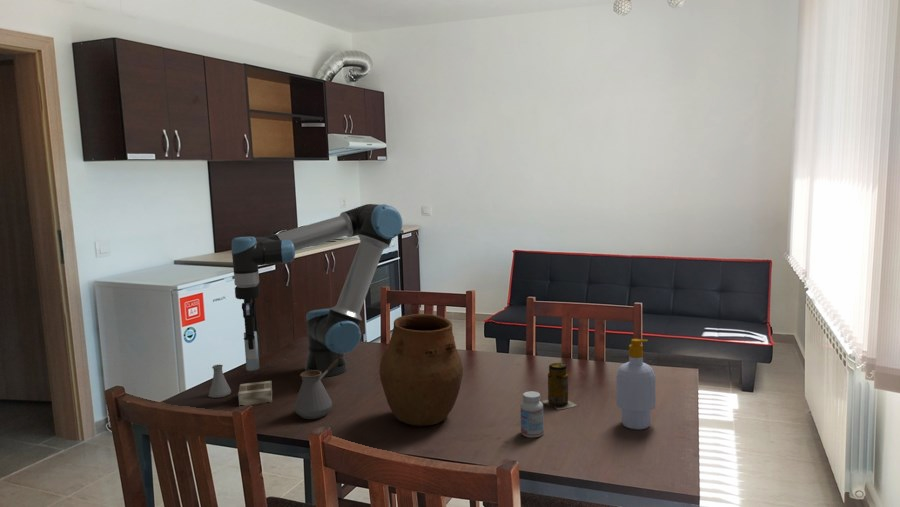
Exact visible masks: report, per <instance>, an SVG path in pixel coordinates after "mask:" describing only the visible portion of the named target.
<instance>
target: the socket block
mask: <svg viewBox="0 0 900 507" xmlns="http://www.w3.org/2000/svg"><path fill="white" fill-rule="evenodd" d="M272 384H273V383H272V380H267V381H266V380H265V381H258V382H256V381H255V382H247V383H240V384H239V389H238V394H237V396H238V397H237V398H238V406H239V407H241V406H240V405H245V406H252V405H259V404H260V403H261V404H268V403H267V402H270V403H272V402H273V386H272Z"/></svg>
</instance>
